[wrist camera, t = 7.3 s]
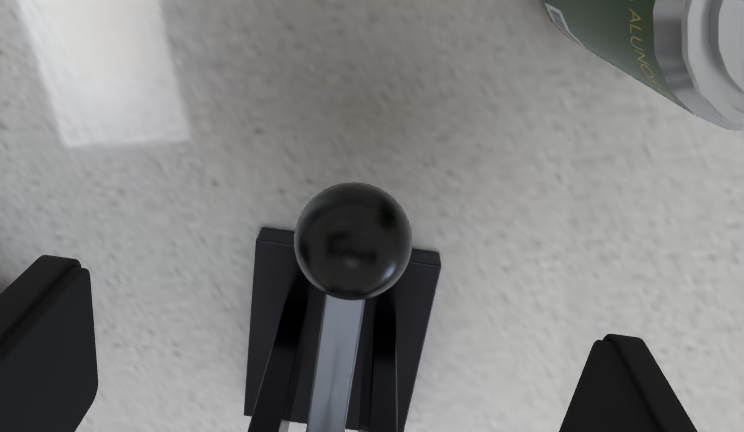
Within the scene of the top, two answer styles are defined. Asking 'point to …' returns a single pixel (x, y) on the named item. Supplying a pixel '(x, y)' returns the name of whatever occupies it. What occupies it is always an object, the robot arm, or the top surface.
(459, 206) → the top surface
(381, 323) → the switch bracket
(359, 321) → the switch lever
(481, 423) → the top surface
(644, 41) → the beer can
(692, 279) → the top surface
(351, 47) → the top surface
